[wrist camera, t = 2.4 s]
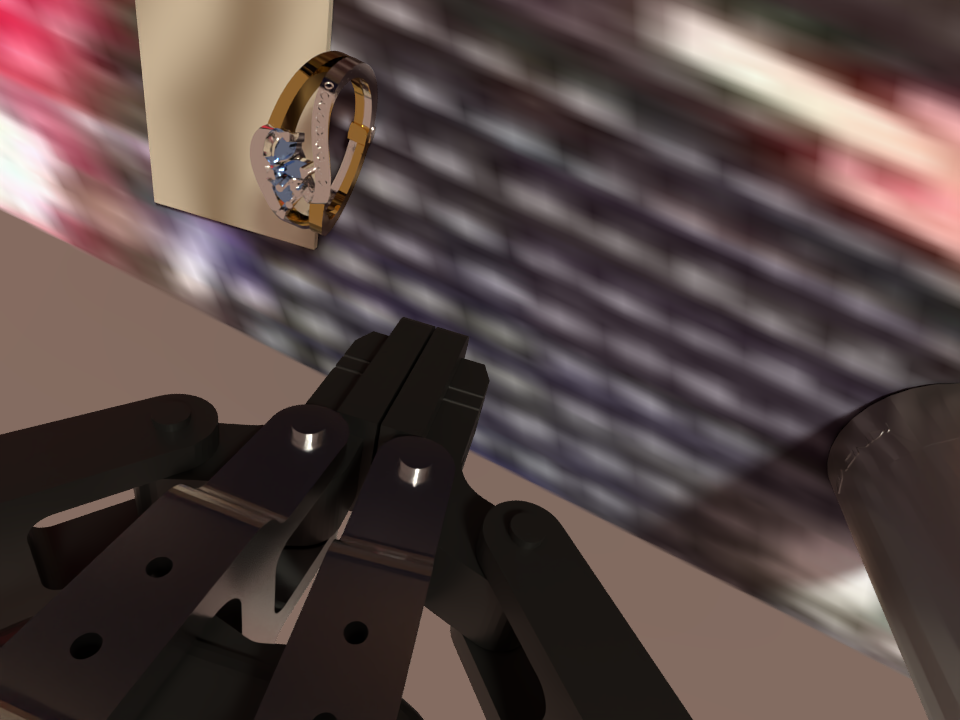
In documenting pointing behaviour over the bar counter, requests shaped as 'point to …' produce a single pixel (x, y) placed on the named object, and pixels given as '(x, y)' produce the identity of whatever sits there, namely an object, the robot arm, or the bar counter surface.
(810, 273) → the bar counter surface
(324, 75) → the ring
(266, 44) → the birch board
